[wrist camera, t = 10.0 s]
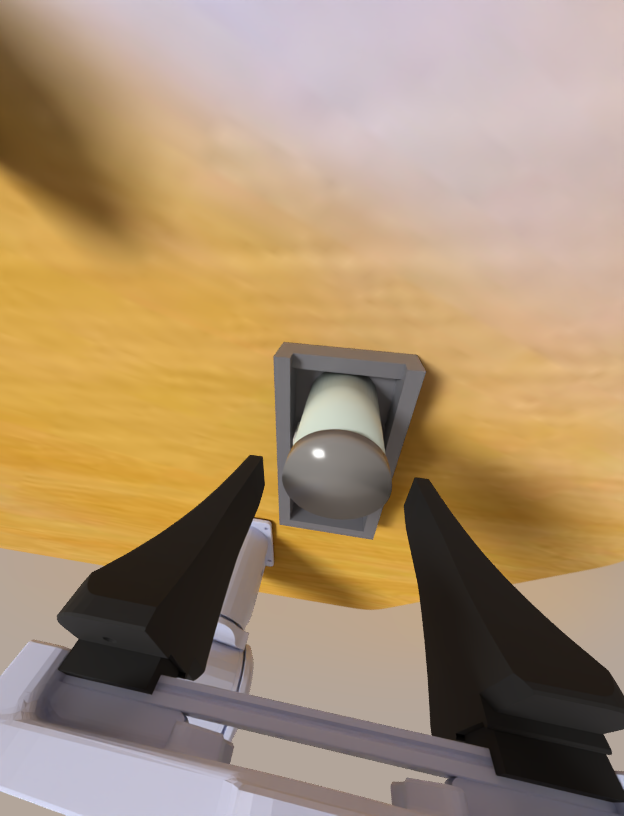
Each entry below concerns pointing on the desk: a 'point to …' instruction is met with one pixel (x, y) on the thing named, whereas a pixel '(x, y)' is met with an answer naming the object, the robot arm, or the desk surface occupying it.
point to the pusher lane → (293, 381)
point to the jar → (339, 450)
